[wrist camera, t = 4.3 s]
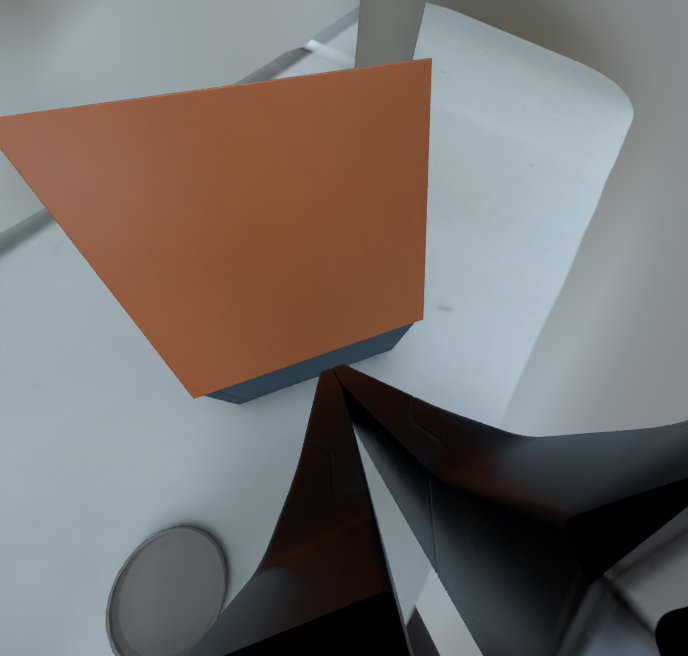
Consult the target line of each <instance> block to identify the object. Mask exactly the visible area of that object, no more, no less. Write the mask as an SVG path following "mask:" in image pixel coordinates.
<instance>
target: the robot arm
mask: <svg viewBox="0 0 688 656" xmlns="http://www.w3.org/2000/svg"><path fill="white" fill-rule="evenodd" d="M353 428H354V429H355V431H356V433H357V435H358V437H359V439H360V440H361V442H362V444H363V446H364V447H365V449H366V451H367V453H368V454H369V456H370V458H371V460H372V461H373V463H374V465H375V467H376V468H377V470H378V472H379V474H380V475H381V477H382V479H383V481H384V482H385V484H386V486H387V488H388V489H389V491H390V493H391V495H392V496H393V498H394V500H395V502H396V503H397V505H398V507H399V509H400V510H401V512H402V514H403V516H404V517H405V519H406V521H407V523H408V524H409V526H410V528H411V530H412V531H413V533H414V535H415V537H416V538H417V540H418V542H419V544H420V546H421V547H422V549H423V551H424V553H425V554H426V556H427V558H428V560H429V561H430V563H431V565H432V567H433V568H434V570H435V572H436V573H437V574H438V577H439V579H440V581H441V582H442V584H443V586H444V588H445V589H446V591H447V593H448V595H449V596H450V598H451V600H452V602H453V604H454V605H455V607H456V609H457V611H458V612H459V613H460V616H461V618H462V619H463V621H464V623H465V625H466V626H467V628H468V630H469V631H470V633H471V635H472V637H473V639H474V640H475V642H476V644H477V646H478V647H479V649H480V651H481V652H482V654H483V656H688V420H686V421H684V422H680V423H676V424H672V425H666V426H661V427H654V428H646V429H637V430H624V431H611V432H598V433H585V434H572V435H561V436H547V437H529V436H522V435H518V434H513V433H510V432H506V431H503V430H501V429H498V428H495V427H492V426H489V425H486V424H483V423H480V422H477V421H475V420H472V419H469V418H466V417H463V416H460V415H457V414H455V413H452V412H449V411H447V410H444V409H441V408H439V407H436V406H434V405H432V404H429V403H427V402H425V401H423V400H420V399H418V398H416V397H413V396H412V395H409V394H407V393H405V392H403V391H401V390H399V389H396V388H394V387H392V386H390V385H388V384H385V383H383V382H381V381H379V380H377V379H375V378H372V377H370V376H368V375H366V374H364V373H362V372H359V371H357V370H355V369H353V368H351V367H349V366H346V365H344V364H341V365H338V366H335V367H333V368H332V369H331V368H330V369H327V370H324V371H321V372H320V376H319V380H318V384H317V388H316V392H315V397H314V401H313V405H312V409H311V414H310V418H309V422H308V426H307V430H306V435H305V439H304V443H303V447H302V451H301V455H300V459H299V462H298V466H297V469H296V472H295V475H294V478H293V481H292V484H291V487H290V490H289V492H288V495H287V498H286V500H285V503H284V506H283V508H282V511H281V513H280V516H279V519H278V521H277V524H276V527H275V529H274V532H273V535H272V537H271V540H270V543H269V545H268V548H267V550H266V552H265V554H264V556H263V558H262V561H261V562H260V564H259V566H258V568H257V570H256V571H255V573H254V574H253V576H252V577H251V579H250V580H249V581H248V582H247V584H246V585H245V586H244V587H243V588H242V590H241V591H240V592H239V593H238V594H237V596H236V597H235V598H234V599H233V600H232V602H231V603H230V604H229V605H228V606H227V608H226V609H225V610H224V611H223V612H222V614H221V615H220V616H219V617H218V618H217V620H216V621H215V622H214V623H213V624H212V626H211V627H210V628H209V629H208V630H207V632H206V633H205V634H204V635H203V636H202V638H201V639H200V640H199V641H198V642H197V644H196V645H195V646H194V647H193V648H192V650H191V651H190V652H189V653H188V654H187V656H413V653H412V649H411V645H410V641H409V638H408V634H407V630H406V626H405V622H404V619H403V615H402V611H401V607H400V603H399V600H398V596H397V592H396V588H395V584H394V581H393V577H392V573H391V569H390V565H389V562H388V558H387V554H386V550H385V546H384V543H383V539H382V535H381V531H380V527H379V524H378V520H377V516H376V512H375V509H374V505H373V501H372V497H371V493H370V490H369V486H368V482H367V478H366V474H365V471H364V467H363V463H362V459H361V455H360V452H359V448H358V444H357V440H356V436H355V433H354V429H353Z"/></svg>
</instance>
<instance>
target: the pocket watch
mask: <svg viewBox="0 0 688 656" xmlns="http://www.w3.org/2000/svg"><path fill="white" fill-rule="evenodd" d="M226 579H227V574H226V566H225V561H224V558H223V555H222V552H221V550H220V548H219V547H218V545H217V543H216V542H215V540H214V539H213V538H211V537H210V536H209V535H208V534H207V533H205V532H204V531H202V530H200V529H197V528H194V527H187V526H179V527H173V528H170V529H167V530H163V531H161V532H159V533H158V534H156V535H154V536H153V537H151V538H149V539H148V540H146V541H145V542H143V543H142V544H141V545H140V546H139V547H138V548H137V549H136V550H135V551H134V552H133V553H132V554H131V555H130V556H129V557H128V559H127V560H126V562H125V563H124V565H123V566H122V568H121V569H120V571H119V572H118V574H117V577H116V579H115V581H114V583H113V586H112V589H111V591H110V594H109V597H108V603H107V608H106V631H107V634H108V638H109V642H110V645H111V648H112V651H113V653H114V654H115V655H116V656H187V654H188V653H189V652H190V651H191V650H192V648H193V647H194V646H195V645H196V644H197V642H198V641H199V640H200V639H201V638H202V636H203V635H204V634H205V633H206V632H207V630H208V629H209V628H210V627H211V626H212V624H213V623H214V622H215V621H216V620H217V618H218V615H219V613H220V610H221V608H222V605H223V601H224V596H225V591H226Z"/></svg>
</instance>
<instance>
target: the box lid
mask: <svg viewBox="0 0 688 656" xmlns="http://www.w3.org/2000/svg"><path fill="white" fill-rule="evenodd" d="M431 67H432V59H431V58H427V59H420V60H413V61H405V62H398V63H391V64H383V65H376V66H369V67H361V68H354V69H347V70H339V71H332V72H325V73H317V74H310V75H303V76H295V77H288V78H281V79H274V80H266V81H259V82H252V83H244V84H237V85H230V86H222V87H215V88H208V89H201V90H194V91H186V92H179V93H171V94H164V95H157V96H149V97H142V98H134V99H128V100H120V101H113V102H105V103H98V104H91V105H83V106H76V107H69V108H62V109H54V110H47V111H39V112H33V113H25V114H17V115H10V116H3V117H0V149H1V150H2V152H3V153H4V154H5V155H6V157H7V158H8V159H9V161H10V162H11V163H12V165H13V166H14V167H15V168H16V170H17V171H18V172H19V174H20V175H21V176H22V177H23V179H24V180H25V181H26V183H27V184H28V185H29V186H30V188H31V189H32V190H33V192H34V193H35V194H36V196H37V197H38V198H39V200H40V201H41V202H42V203H43V205H44V206H45V207H46V209H47V210H48V211H49V212H50V214H51V215H52V216H53V218H54V219H55V220H56V221H57V223H58V224H59V225H60V227H61V228H62V229H63V231H64V232H65V233H66V234H67V236H68V237H69V238H70V240H71V241H72V242H73V243H74V245H75V246H76V247H77V249H78V250H79V251H80V253H81V254H82V255H83V256H84V258H85V259H86V260H87V262H88V263H89V264H90V265H91V267H92V268H93V269H94V271H95V272H96V273H97V275H98V276H99V277H100V278H101V280H102V281H103V282H104V284H105V285H106V286H107V287H108V289H109V290H110V291H111V293H112V294H113V295H114V297H115V298H116V299H117V300H118V302H119V303H120V304H121V306H122V307H123V308H124V309H125V311H126V312H127V313H128V315H129V316H130V317H131V319H132V320H133V321H134V322H135V324H136V325H137V326H138V328H139V329H140V330H141V331H142V333H143V334H144V335H145V337H146V338H147V339H148V340H149V342H150V343H151V344H152V346H153V347H154V348H155V350H156V351H157V352H158V353H159V355H160V356H161V357H162V359H163V360H164V361H165V362H166V364H167V365H168V366H169V368H170V369H171V370H172V372H173V373H174V374H175V375H176V377H177V378H178V379H179V381H180V382H181V383H182V384H183V386H184V387H185V388H186V390H187V391H188V392H189V394H190V395H191V396H192V397H193V399H195V398H197V397H200V396H203V395H206V394H209V393H212V392H215V391H218V390H221V389H223V388H226V387H229V386H232V385H235V384H238V383H241V382H244V381H247V380H249V379H252V378H255V377H258V376H261V375H264V374H267V373H270V372H273V371H275V370H278V369H281V368H284V367H287V366H290V365H293V364H296V363H298V362H301V361H304V360H307V359H310V358H313V357H316V356H319V355H322V354H324V353H327V352H330V351H333V350H336V349H339V348H342V347H345V346H348V345H350V344H353V343H356V342H359V341H362V340H365V339H368V338H371V337H374V336H376V335H379V334H382V333H385V332H388V331H391V330H394V329H397V328H399V327H402V326H405V325H408V324H411V323H414V322H417V321H420V320H423V310H424V279H425V249H426V219H427V188H428V158H429V128H430V97H431Z"/></svg>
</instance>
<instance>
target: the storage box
mask: <svg viewBox="0 0 688 656" xmlns="http://www.w3.org/2000/svg"><path fill="white" fill-rule="evenodd" d="M412 325H413V323H411V324H408V325H405V326H402V327H399V328H397V329H394V330H391V331H388V332H385V333H382V334H379V335H376V336H374V337H371V338H368V339H365V340H362V341H359V342H356V343H353V344H350V345H348V346H345V347H342V348H339V349H336V350H333V351H330V352H327V353H324V354H322V355H319V356H316V357H313V358H310V359H307V360H304V361H301V362H298V363H296V364H293V365H290V366H287V367H284V368H281V369H278V370H275V371H273V372H270V373H267V374H264V375H261V376H258V377H255V378H252V379H249V380H247V381H244V382H241V383H238V384H235V385H232V386H229V387H226V388H223V389H221V390H218V391H215V392H212V393H209V394H206V395H203V396H207V397H211V398H215V399H219V400H223V401H227V402H231V403H235V404H242V403H244V402H247V401H250V400H253V399H255V398H258V397H261V396H264V395H266V394H269V393H272V392H275V391H278V390H280V389H283V388H286V387H289V386H291V385H294V384H297V383H300V382H302V381H305V380H308V379H311V378H313V377H316V376H319V375H320V372H321V371H324V370H327V369H330V368H331V369H332V368H333V367H335V366H338V365H341V364H344V365H346V366H347V365H349V364H352V363H355V362H358V361H361V360H363V359H366V358H369V357H372V356H374V355H377V354H380V353H383V352H385V351H388V350H391V349H393V347H394V346H395V345H396V344H397V343H398V341H399V340H400V339H401V338H402V337H403V335H404V334H405V333H406V332H407V331H408V329H409V328H410V327H411V326H412Z"/></svg>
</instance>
